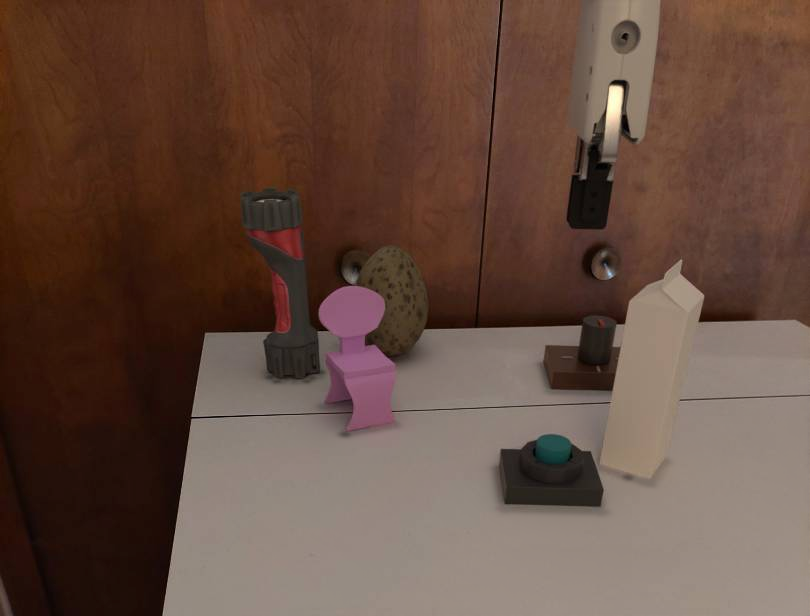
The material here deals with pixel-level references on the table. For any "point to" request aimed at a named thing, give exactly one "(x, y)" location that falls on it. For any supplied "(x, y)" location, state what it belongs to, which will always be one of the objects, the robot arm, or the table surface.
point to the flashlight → (283, 278)
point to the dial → (596, 340)
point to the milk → (651, 373)
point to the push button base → (549, 478)
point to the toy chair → (358, 356)
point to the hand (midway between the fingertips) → (585, 225)
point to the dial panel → (578, 369)
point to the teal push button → (553, 449)
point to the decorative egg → (395, 299)
